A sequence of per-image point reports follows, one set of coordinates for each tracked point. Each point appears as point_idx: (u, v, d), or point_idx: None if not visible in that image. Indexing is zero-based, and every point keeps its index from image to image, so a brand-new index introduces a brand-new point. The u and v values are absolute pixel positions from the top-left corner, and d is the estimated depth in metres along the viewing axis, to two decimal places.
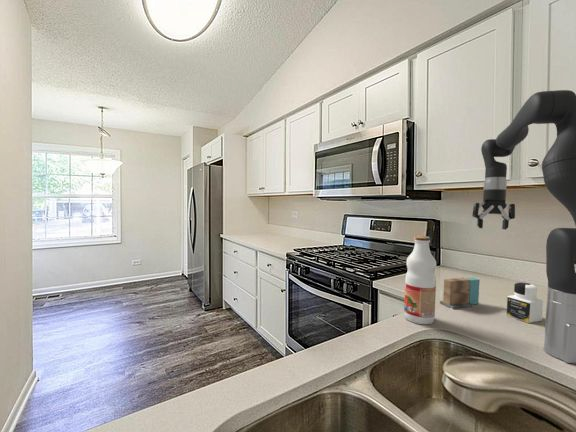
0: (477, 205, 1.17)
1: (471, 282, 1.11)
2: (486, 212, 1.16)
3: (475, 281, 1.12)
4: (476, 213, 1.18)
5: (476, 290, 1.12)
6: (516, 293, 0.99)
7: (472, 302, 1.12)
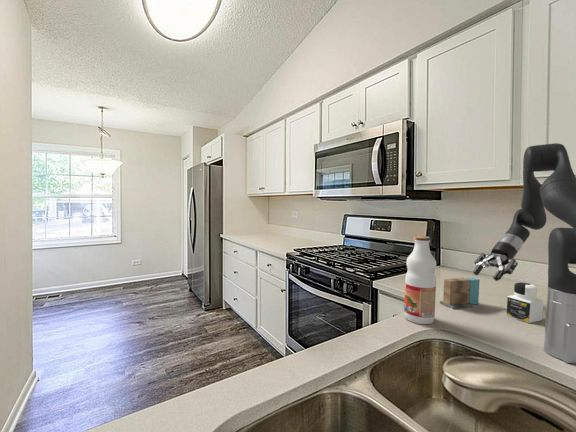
0: (481, 254, 1.22)
1: (471, 282, 1.11)
2: (484, 260, 1.19)
3: (475, 281, 1.12)
4: (476, 260, 1.22)
5: (476, 290, 1.12)
6: (516, 293, 0.99)
7: (472, 302, 1.12)
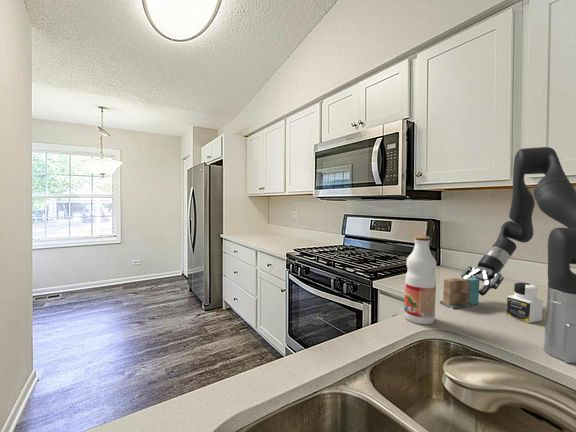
0: (468, 267, 1.20)
1: (471, 282, 1.11)
2: (470, 273, 1.17)
3: (475, 281, 1.12)
4: (463, 273, 1.20)
5: (476, 290, 1.12)
6: (516, 293, 0.99)
7: (472, 302, 1.12)
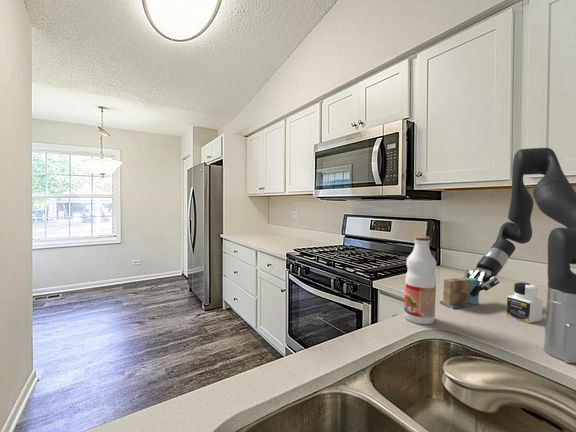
0: (466, 271, 1.20)
1: (471, 282, 1.11)
2: (471, 276, 1.15)
3: (475, 281, 1.12)
4: (465, 277, 1.18)
5: None
6: (516, 293, 0.99)
7: (472, 302, 1.12)
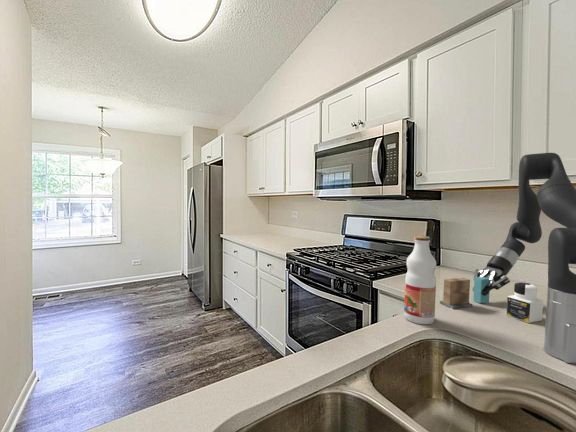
0: (476, 271, 1.21)
1: (482, 281, 1.13)
2: (482, 275, 1.17)
3: (486, 280, 1.13)
4: None
5: None
6: (516, 293, 0.99)
7: (483, 301, 1.13)
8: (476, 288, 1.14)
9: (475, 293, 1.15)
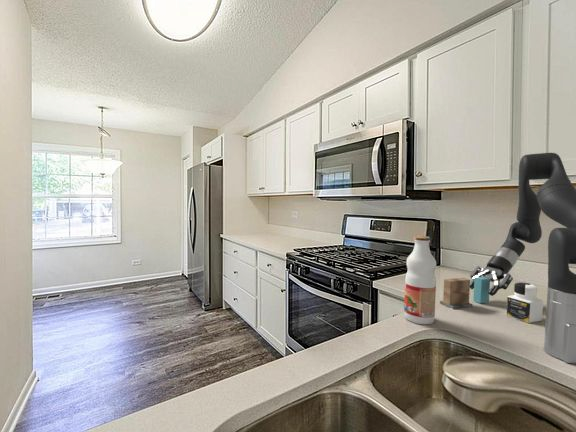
0: (477, 268, 1.22)
1: (482, 281, 1.13)
2: (480, 274, 1.18)
3: (486, 280, 1.13)
4: (472, 273, 1.22)
5: (487, 289, 1.14)
6: (516, 293, 0.99)
7: (483, 301, 1.13)
8: (476, 288, 1.14)
9: (475, 293, 1.15)
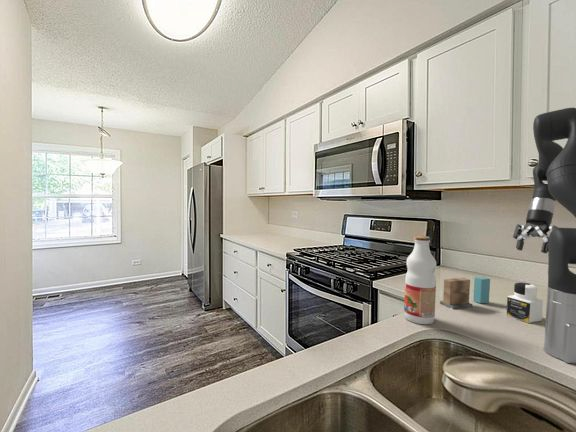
0: (517, 226, 1.17)
1: (482, 281, 1.13)
2: (523, 233, 1.14)
3: (486, 280, 1.13)
4: (515, 234, 1.17)
5: (487, 289, 1.14)
6: (516, 293, 0.99)
7: (483, 301, 1.13)
8: (476, 288, 1.14)
9: (475, 293, 1.15)
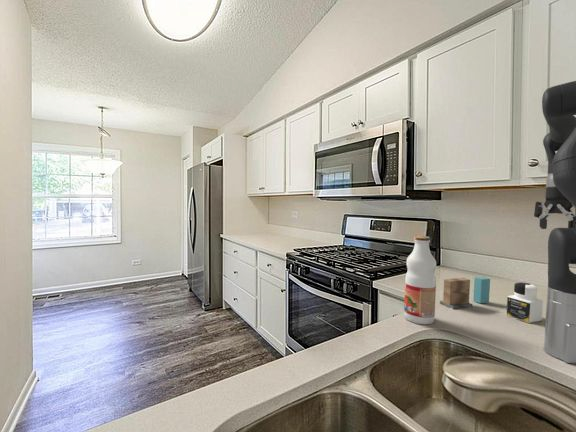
0: (537, 204, 1.12)
1: (482, 281, 1.13)
2: (545, 211, 1.09)
3: (486, 280, 1.13)
4: (535, 212, 1.12)
5: (487, 289, 1.14)
6: (516, 293, 0.99)
7: (483, 301, 1.13)
8: (476, 288, 1.14)
9: (475, 293, 1.15)
